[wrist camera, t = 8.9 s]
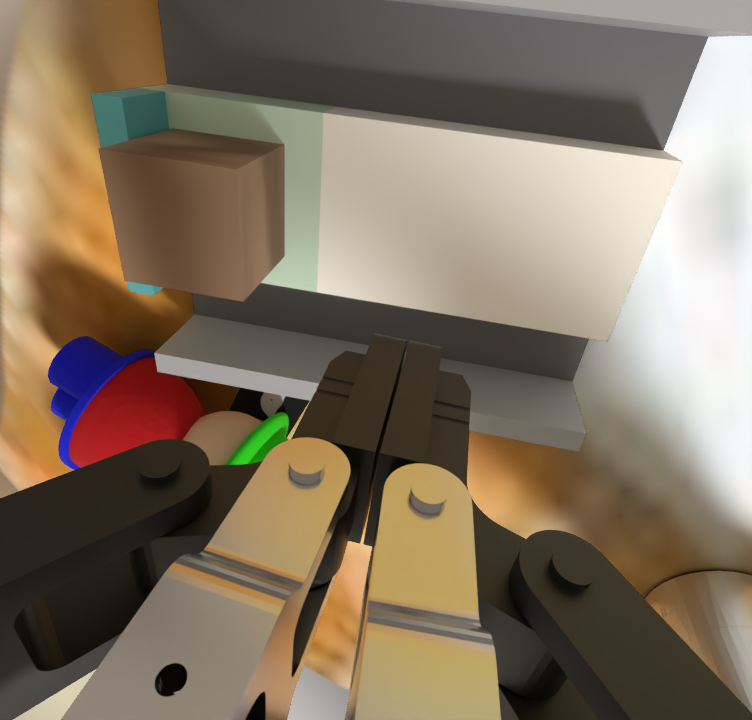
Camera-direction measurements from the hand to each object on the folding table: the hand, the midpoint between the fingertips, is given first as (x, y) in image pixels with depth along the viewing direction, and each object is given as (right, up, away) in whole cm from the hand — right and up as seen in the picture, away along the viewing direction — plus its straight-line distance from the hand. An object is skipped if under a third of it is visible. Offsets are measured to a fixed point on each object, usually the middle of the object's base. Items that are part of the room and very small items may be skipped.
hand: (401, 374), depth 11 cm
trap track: (0, +8, +13) cm, 16 cm away
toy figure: (-12, -2, +23) cm, 26 cm away
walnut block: (-7, +8, +12) cm, 16 cm away
